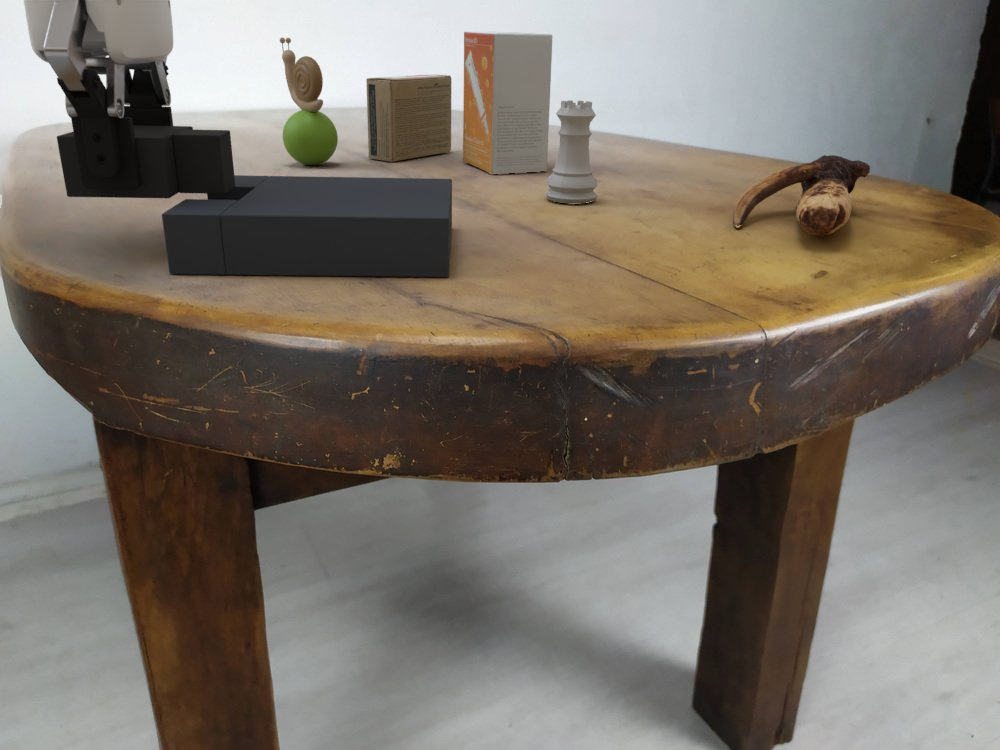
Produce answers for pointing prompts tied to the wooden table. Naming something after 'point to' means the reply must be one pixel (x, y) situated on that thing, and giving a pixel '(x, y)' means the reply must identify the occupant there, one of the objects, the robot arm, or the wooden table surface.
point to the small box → (506, 101)
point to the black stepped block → (163, 163)
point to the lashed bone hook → (811, 193)
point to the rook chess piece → (573, 156)
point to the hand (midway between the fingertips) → (133, 175)
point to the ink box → (408, 116)
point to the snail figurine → (307, 112)
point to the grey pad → (314, 228)
